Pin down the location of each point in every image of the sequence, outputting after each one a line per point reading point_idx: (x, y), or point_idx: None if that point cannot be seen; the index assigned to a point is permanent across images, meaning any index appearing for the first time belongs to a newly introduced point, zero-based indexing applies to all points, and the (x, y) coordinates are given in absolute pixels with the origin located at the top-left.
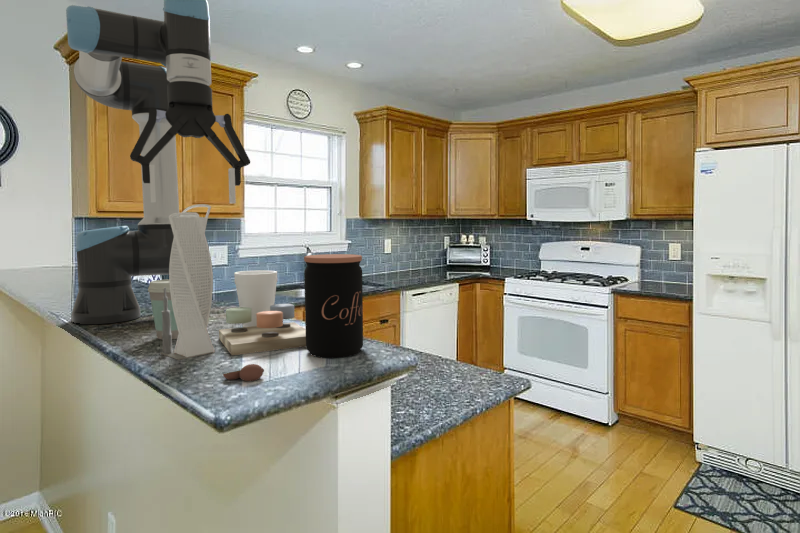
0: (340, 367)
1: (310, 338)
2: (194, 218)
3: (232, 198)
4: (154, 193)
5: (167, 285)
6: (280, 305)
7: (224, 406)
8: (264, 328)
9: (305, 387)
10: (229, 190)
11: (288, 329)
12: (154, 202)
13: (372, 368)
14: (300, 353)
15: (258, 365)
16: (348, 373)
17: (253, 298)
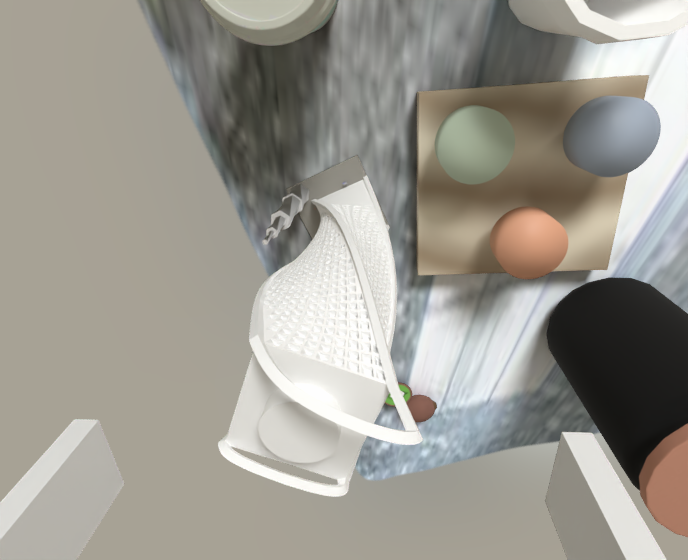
0: (553, 404)
1: (555, 354)
2: (328, 471)
3: (563, 529)
4: (90, 529)
5: (257, 33)
6: (616, 129)
7: (370, 465)
8: (533, 134)
9: (470, 452)
10: (599, 539)
11: (583, 178)
12: (94, 423)
13: (592, 427)
14: (537, 306)
15: (428, 416)
16: (547, 431)
17: (564, 31)
